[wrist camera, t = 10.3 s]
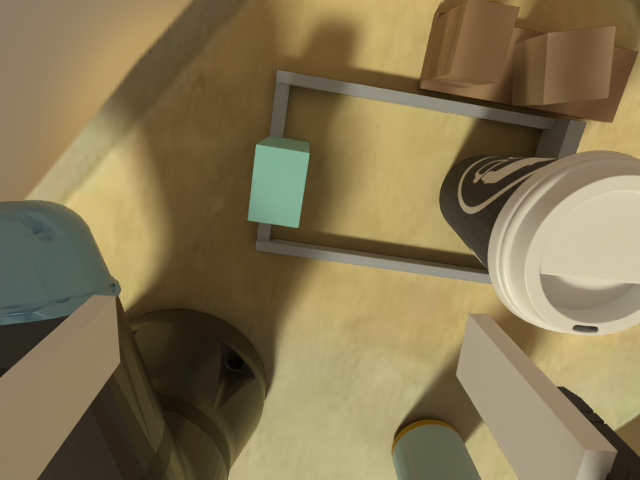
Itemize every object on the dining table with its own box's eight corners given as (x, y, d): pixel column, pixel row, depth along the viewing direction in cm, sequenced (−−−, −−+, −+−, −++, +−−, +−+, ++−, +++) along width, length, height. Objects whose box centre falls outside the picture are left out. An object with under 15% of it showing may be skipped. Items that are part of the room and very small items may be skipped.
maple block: (511, 105, 30) (543, 104, 26) (514, 43, 29) (547, 33, 25) (568, 99, 30) (608, 97, 26) (573, 37, 29) (616, 25, 25)
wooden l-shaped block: (417, 88, 30) (447, 82, 24) (434, 14, 29) (471, -14, 22) (604, 122, 31) (681, 125, 25) (629, 52, 30) (718, 36, 24)
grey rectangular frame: (256, 245, 34) (239, 291, 25) (278, 71, 30) (266, 55, 21) (508, 281, 35) (573, 336, 27) (560, 121, 31) (656, 125, 23)
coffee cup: (397, 218, 33) (466, 298, 19) (464, 111, 31) (600, 112, 17) (491, 269, 35) (618, 379, 21) (561, 172, 33) (760, 220, 18)
